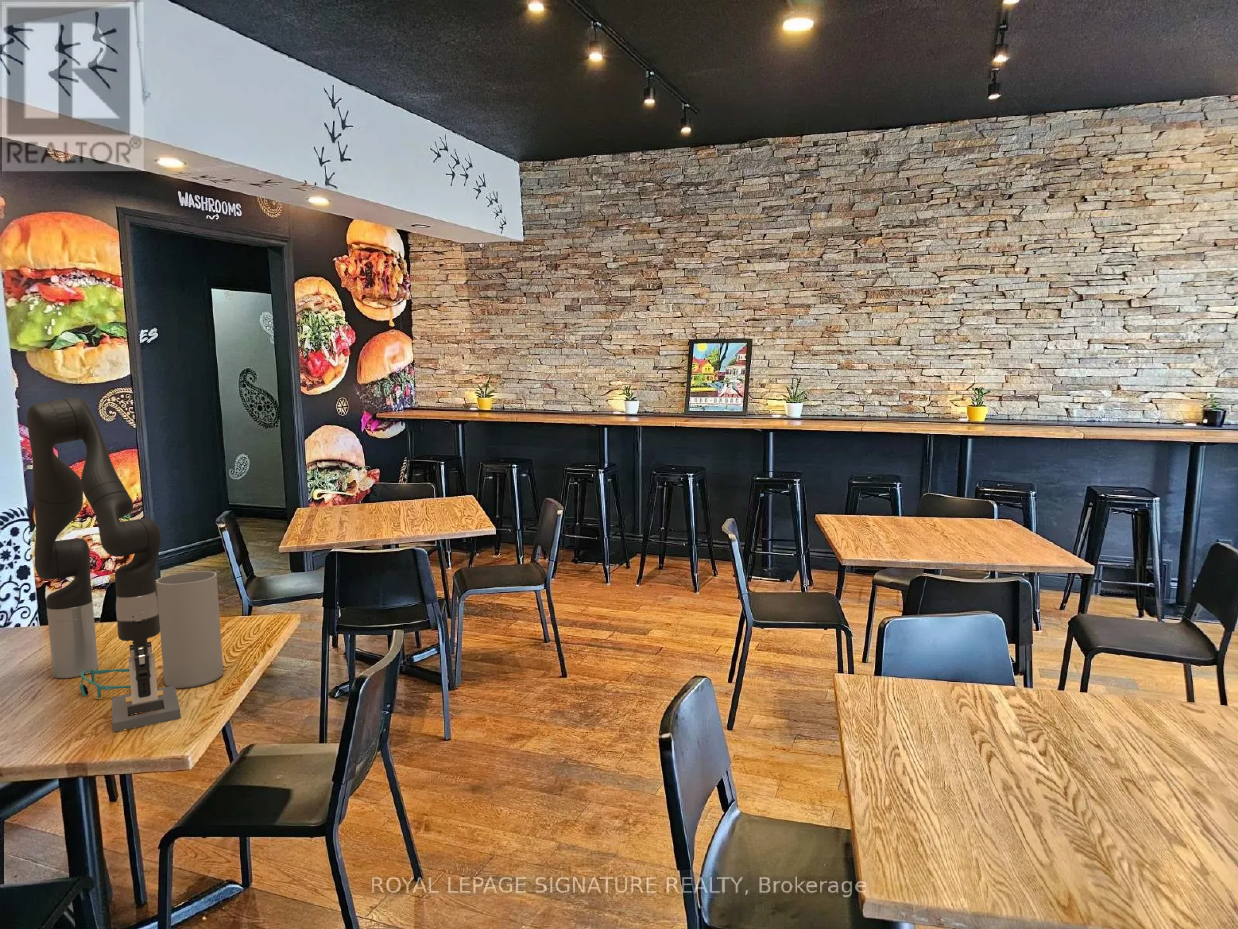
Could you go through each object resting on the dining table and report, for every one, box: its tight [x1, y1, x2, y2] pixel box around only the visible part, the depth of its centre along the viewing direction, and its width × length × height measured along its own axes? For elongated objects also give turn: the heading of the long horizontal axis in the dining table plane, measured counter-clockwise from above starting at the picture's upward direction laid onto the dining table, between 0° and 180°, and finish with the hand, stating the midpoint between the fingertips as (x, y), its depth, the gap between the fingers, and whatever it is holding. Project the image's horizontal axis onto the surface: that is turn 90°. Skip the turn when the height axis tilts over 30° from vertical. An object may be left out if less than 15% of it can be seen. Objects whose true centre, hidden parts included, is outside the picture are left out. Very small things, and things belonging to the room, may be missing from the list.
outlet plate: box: [111, 685, 182, 733], centre depth 167 cm, size 16×12×2 cm
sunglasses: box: [78, 668, 131, 700], centre depth 181 cm, size 14×15×5 cm
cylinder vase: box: [155, 570, 224, 689], centre depth 184 cm, size 12×12×25 cm
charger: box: [128, 652, 158, 704], centre depth 163 cm, size 4×5×9 cm
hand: (144, 692), depth 164 cm, fingers closed on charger, 4 cm apart
